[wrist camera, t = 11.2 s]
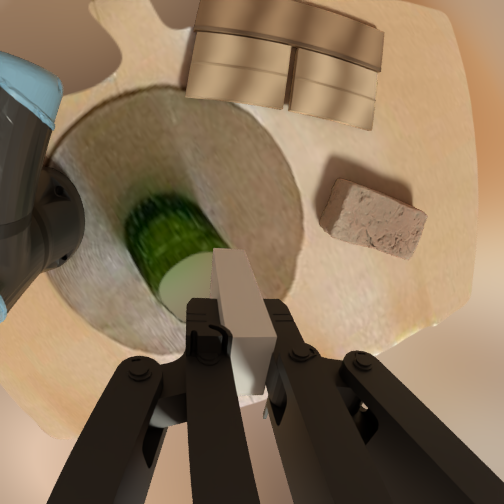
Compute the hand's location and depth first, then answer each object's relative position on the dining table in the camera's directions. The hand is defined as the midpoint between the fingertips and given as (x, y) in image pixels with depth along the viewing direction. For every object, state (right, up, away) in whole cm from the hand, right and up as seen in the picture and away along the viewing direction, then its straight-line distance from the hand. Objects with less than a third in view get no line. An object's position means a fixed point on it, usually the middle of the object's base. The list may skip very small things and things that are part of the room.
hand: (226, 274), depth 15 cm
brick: (+20, +7, +30) cm, 37 cm away
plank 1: (0, +24, +18) cm, 30 cm away
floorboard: (+7, +31, +16) cm, 36 cm away
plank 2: (+12, +23, +20) cm, 33 cm away
